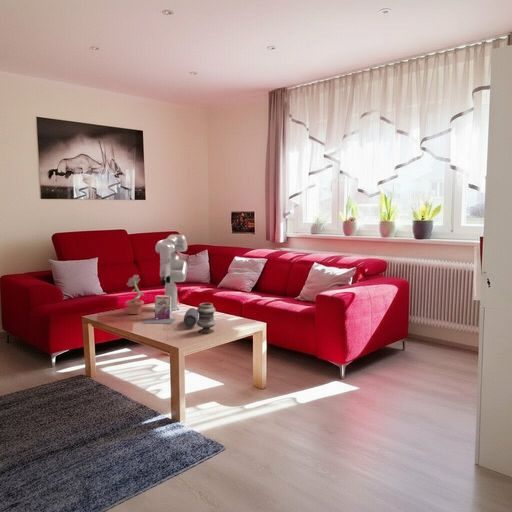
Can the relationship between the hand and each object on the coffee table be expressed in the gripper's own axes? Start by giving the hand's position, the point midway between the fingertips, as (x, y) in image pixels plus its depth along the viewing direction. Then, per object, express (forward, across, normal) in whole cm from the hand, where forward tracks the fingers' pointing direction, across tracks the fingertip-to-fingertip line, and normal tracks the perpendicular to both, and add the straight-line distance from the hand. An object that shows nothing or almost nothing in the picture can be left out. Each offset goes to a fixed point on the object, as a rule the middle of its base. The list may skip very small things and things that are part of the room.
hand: (165, 284), depth 336 cm
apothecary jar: (+22, +41, +42) cm, 63 cm away
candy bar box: (+24, +10, +2) cm, 26 cm away
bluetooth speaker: (+23, +25, +27) cm, 44 cm away
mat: (+23, +20, +3) cm, 30 cm away
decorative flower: (+24, 0, -25) cm, 35 cm away
